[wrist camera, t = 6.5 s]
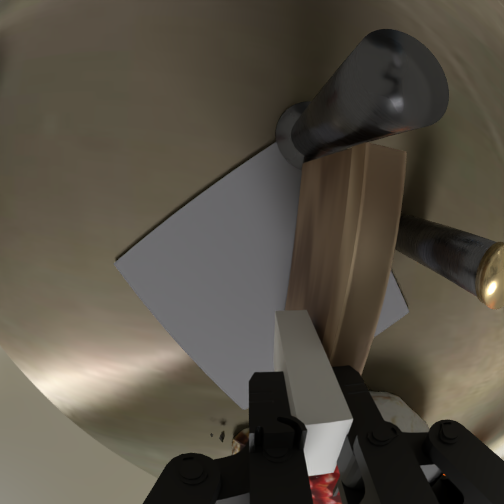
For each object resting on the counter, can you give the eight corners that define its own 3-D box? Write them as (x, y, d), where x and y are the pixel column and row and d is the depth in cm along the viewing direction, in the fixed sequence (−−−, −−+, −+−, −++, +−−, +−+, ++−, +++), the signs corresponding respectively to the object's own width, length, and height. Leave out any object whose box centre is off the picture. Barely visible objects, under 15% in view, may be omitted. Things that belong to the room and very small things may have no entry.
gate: (301, 163, 18) (366, 142, 7) (321, 166, 18) (406, 151, 7) (277, 346, 21) (295, 464, 10) (295, 347, 21) (323, 462, 11)
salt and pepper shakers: (338, 81, 17) (434, -14, 5) (427, 239, 20) (550, 297, 7) (260, 126, 18) (277, 34, 5) (363, 288, 21) (460, 394, 8)
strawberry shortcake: (209, 385, 23) (193, 476, 14) (442, 370, 24) (489, 427, 14) (218, 494, 29) (214, 549, 19) (379, 481, 29) (396, 528, 20)
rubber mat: (303, 125, 18) (304, 124, 18) (407, 309, 21) (409, 311, 21) (115, 262, 20) (113, 263, 20) (243, 407, 24) (243, 409, 23)
